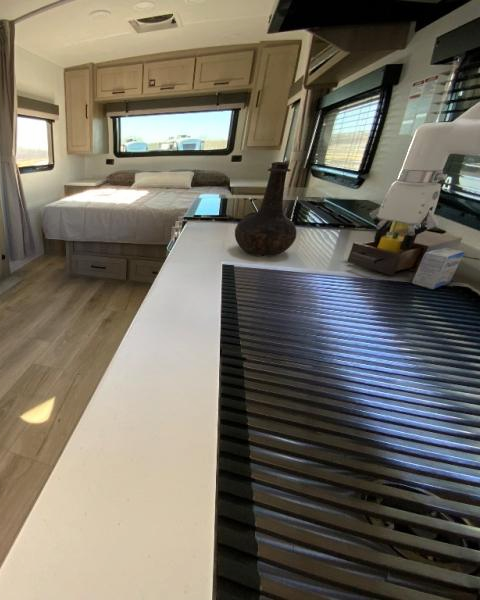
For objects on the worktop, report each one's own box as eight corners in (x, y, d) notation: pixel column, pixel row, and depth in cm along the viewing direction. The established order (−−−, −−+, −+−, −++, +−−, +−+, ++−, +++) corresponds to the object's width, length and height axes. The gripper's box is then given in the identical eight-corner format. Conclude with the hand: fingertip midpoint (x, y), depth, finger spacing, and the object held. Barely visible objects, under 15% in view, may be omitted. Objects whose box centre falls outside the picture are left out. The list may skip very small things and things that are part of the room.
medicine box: (432, 290, 82) (449, 257, 78) (410, 283, 85) (425, 251, 81) (449, 283, 84) (466, 251, 80) (427, 277, 88) (442, 246, 84)
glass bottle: (260, 241, 120) (278, 158, 108) (304, 256, 105) (331, 162, 93) (220, 248, 116) (233, 162, 103) (259, 265, 101) (281, 166, 88)
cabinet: (416, 272, 91) (428, 246, 88) (367, 258, 102) (376, 234, 98) (449, 263, 96) (462, 237, 93) (399, 250, 107) (409, 227, 103)
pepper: (403, 261, 93) (415, 233, 89) (390, 265, 91) (402, 236, 87) (381, 255, 97) (392, 228, 94) (368, 259, 96) (378, 231, 92)
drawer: (380, 278, 87) (389, 257, 84) (336, 264, 97) (343, 245, 94) (424, 266, 93) (433, 246, 90) (378, 254, 102) (386, 236, 100)
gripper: (472, 179, 78) (438, 252, 86) (389, 173, 92) (366, 236, 100) (454, 182, 76) (420, 257, 84) (371, 175, 90) (349, 239, 98)
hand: (391, 245), depth 92 cm, fingers closed on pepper, 5 cm apart
